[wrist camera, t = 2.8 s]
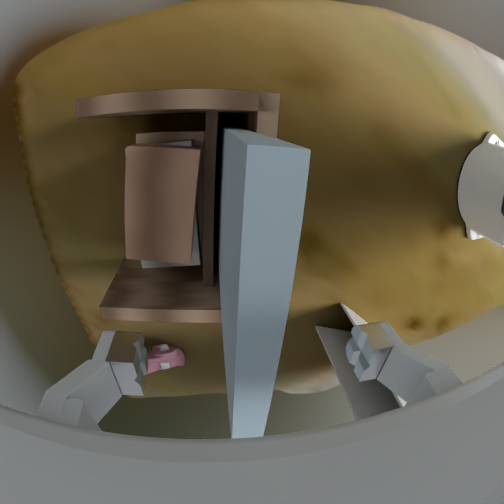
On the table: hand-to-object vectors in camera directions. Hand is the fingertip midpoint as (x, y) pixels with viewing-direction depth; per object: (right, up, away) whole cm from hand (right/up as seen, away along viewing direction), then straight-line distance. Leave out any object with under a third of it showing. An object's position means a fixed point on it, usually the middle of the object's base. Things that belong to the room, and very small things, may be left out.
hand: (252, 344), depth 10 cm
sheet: (-3, +10, +21) cm, 23 cm away
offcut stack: (-9, +10, +20) cm, 24 cm away
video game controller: (-15, -11, +30) cm, 35 cm away
